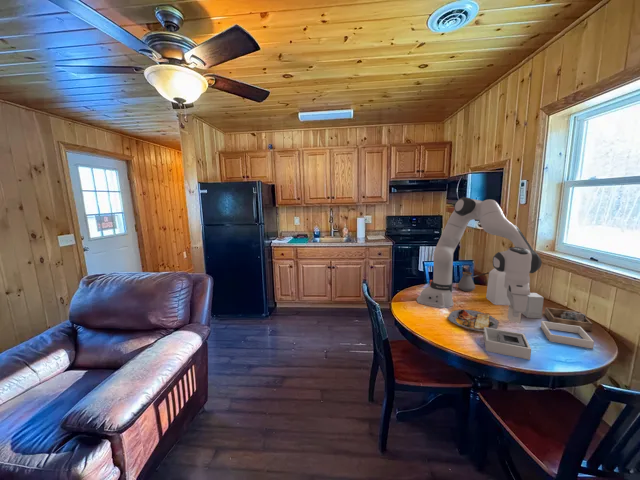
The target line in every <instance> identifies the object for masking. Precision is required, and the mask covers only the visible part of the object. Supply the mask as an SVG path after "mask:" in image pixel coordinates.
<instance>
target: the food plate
mask: <svg viewBox="0 0 640 480" xmlns="http://www.w3.org/2000/svg"><path fill="white" fill-rule="evenodd" d="M457 318H458V319H459V320H461V321H462V324H460V323H459V322H458V321H457ZM447 319H448V320H449V321H450V323H452V324H455V325H456V326H459V327H462V328H465V329H469V330H472V331H473V330H474V331H478V332H484V327H487V328H493V329H498V326H499V323H500V322H499V320H497V319H496V318H495V317H493V316H492V315H490V313H488V312H485V313H484V312H481V311H478V310H472V309H465V308H464V309H455V310H453V311H451V312H450V314H449V315H448V316H447ZM472 322H473V327H471V326H472Z"/></svg>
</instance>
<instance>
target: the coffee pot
mask: <svg viewBox="0 0 640 480" xmlns="http://www.w3.org/2000/svg"><path fill="white" fill-rule="evenodd" d="M489 272H490V271H489ZM489 272H484V273H480V274H476V275H473V272H471V271H463V272H462V273H461V274H462V277H461V279H460V280H459V281H458V284H457V286H458V288H459V289H460V290H461V291H464V292H472V291H474V290H475V289H476V285H475V281H474V279H473V278H476V277H481V276H486V275H489Z"/></svg>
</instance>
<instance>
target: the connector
mask: <svg viewBox="0 0 640 480" xmlns="http://www.w3.org/2000/svg"><path fill="white" fill-rule="evenodd" d="M507 311H508V312H507V319H508V321H509V322H510V323H517V324H521V318H522V313H520V312H519V316H518V317H514V316H513V311H514V309H513V307H512V306H511V305H508V308H507Z"/></svg>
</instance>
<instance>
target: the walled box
mask: <svg viewBox="0 0 640 480" xmlns="http://www.w3.org/2000/svg"><path fill="white" fill-rule="evenodd" d="M498 332H499V333H505V334H510V335H516V336H521V337H522V339H523V342H524V344H525V347H522V346H516V345H511V344H506V343H500V342H498V341H497V337H498ZM483 341H484V348H485V352H489V353H494V354H498V355H499V354H500V355H504V356H509V357H514V358H517V359H523V360H529V361H531V356H532V348H531V345H530V343H529V342H528V339H527V337H526V335H525V333H521V332H516V331H510V330H505V329H504V330H503V329H499V328H497V329H493V328H487V327H484V331H483Z"/></svg>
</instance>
